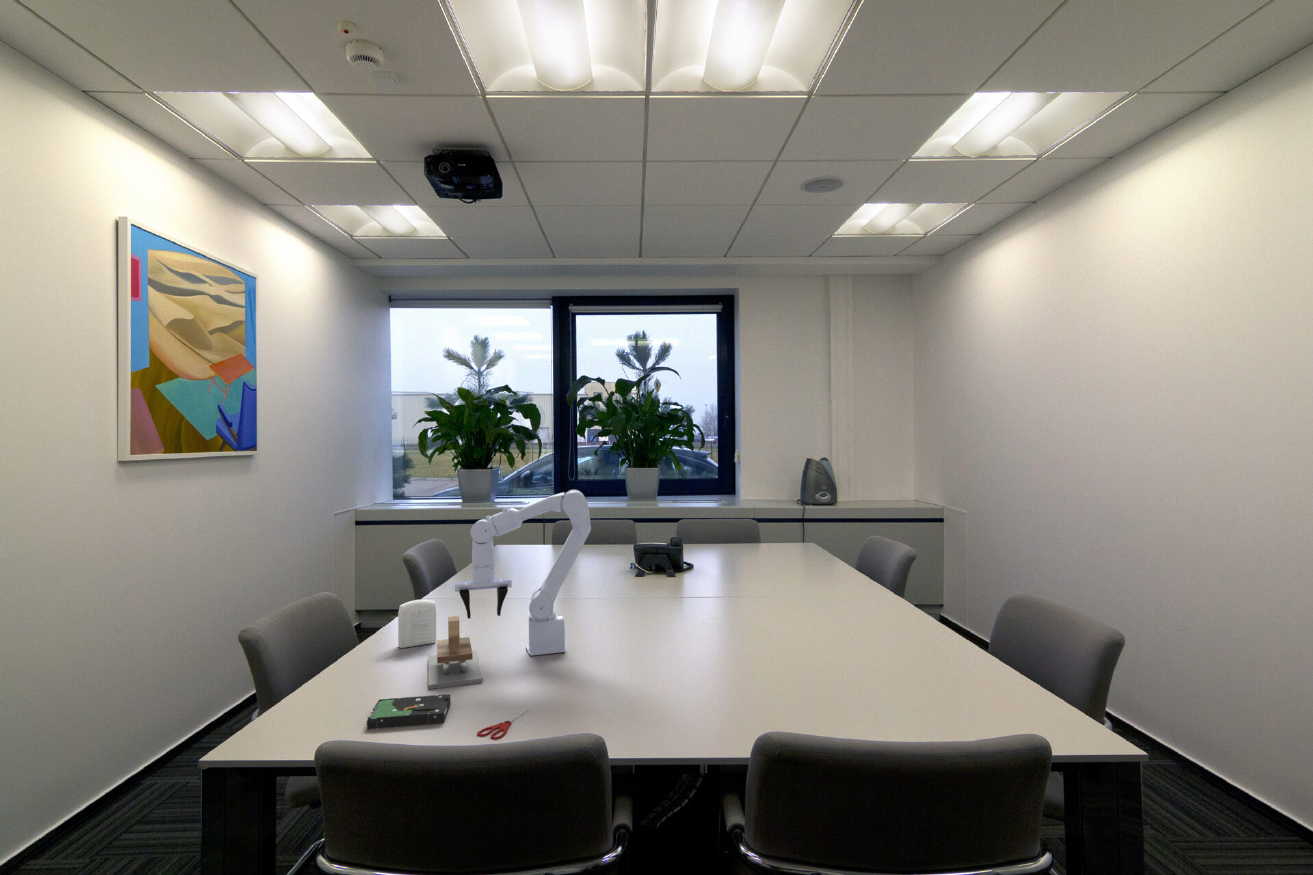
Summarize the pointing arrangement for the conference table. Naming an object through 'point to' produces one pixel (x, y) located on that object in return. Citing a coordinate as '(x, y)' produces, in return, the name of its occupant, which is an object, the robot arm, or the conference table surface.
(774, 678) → the conference table surface
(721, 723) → the conference table surface
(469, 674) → the peg stand
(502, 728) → the scissors
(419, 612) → the white upright slab
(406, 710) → the disk drive
